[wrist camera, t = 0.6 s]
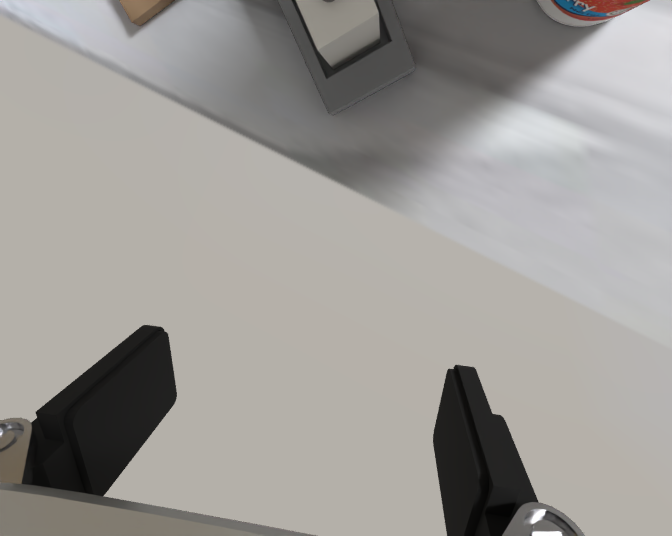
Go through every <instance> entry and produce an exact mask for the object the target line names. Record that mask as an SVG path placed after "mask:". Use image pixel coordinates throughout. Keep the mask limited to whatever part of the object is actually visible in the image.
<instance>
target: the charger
mask: <svg viewBox="0 0 672 536" xmlns="http://www.w3.org/2000/svg"><path fill="white" fill-rule="evenodd" d="M296 2H297V4H298V7H299V9H300V11H301V14H302V16H303V18H304V20H305V23H306V25H307V27H308V30H309V32H310V34H311V36H312V39H313V41H314V43H315V46H316V48H317V50H318V51H319V53H320V54H321V55H322V56H323V57H324V59H325V60H326V61H327V62H328V64H329V65H330V66H331V67H332V68H333V70H334V69H335V68H337V67H339V66H340V65H342V64H344V63H346V62H347V61H349V60H351V59H352V58H354V57H356V56H357V55H359V54H361V53H363V52H364V51H366V50H368V49H369V48H371V47H373V46H375V45H376V44H378V43H380V29H379V12H378V10H377V7H376V4H375V2H374V0H296Z"/></svg>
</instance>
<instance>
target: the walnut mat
mask: <svg viewBox="0 0 672 536" xmlns="http://www.w3.org/2000/svg"><path fill="white" fill-rule="evenodd" d="M119 1H120V3H121V4H122V6H123V8H124V10H125V11H126V13H127V15H128V17H129V18H130V20H131V22H132V23H134V24H137V25H139V26H141V25H142V24H144V23H145V22H146V21H148V20H149V19H150V18H152V17H153V16H154V15H156V14H157V13H159V12H160V11H161V10H163V9H164V8H165V7H167V6H168V5H169V4H171V3H172V2H173V1H175V0H119Z"/></svg>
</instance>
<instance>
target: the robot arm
mask: <svg viewBox="0 0 672 536" xmlns="http://www.w3.org/2000/svg"><path fill="white" fill-rule="evenodd" d="M176 397H177V392H176V385H175V378H174V371H173V364H172V358H171V351H170V344H169V337H168V334H167V332H164V329H163V328H162V327H157V326H150V325H143V326H142V327H140V328H139V329H138V330H136V331H135V332H134V333H133V334H132V335H130V336H129V337H128V338H127V339H125V340H124V341H123V342H122V343H120V344H119V345H118V346H117V347H115V348H114V349H113V350H112V351H110V352H109V353H108V354H107V355H106V356H104V357H103V358H102V359H101V360H99V361H98V362H97V363H96V364H94V365H93V366H92V367H91V368H90V369H88V370H87V371H86V372H84V373H83V374H82V375H81V376H79V377H78V378H77V379H76V380H75V381H73V382H72V383H71V384H70V385H68V386H67V387H66V388H65V389H63V390H62V391H61V392H60V393H58V394H57V395H56V396H55V397H54V398H52V399H51V400H50V401H49V402H47V403H46V404H45V405H44V406H42V407H41V408H40V409H39V410H37V412H36V415H37V418H36V419H35V420H34V421H33V422H32V423H31V422H30V421H28V420H27V419H23V418H10V419H5V420H0V536H316V535H310V534H305V533H300V532H294V531H290V530H284V529H279V528H274V527H269V526H263V525H258V524H252V523H247V522H241V521H236V520H231V519H225V518H220V517H214V516H209V515H203V514H198V513H192V512H187V511H182V510H176V509H171V508H165V507H159V506H153V505H148V504H143V503H136V502H131V501H126V500H120V499H114V498H109V497H103V496H104V494H105V493H106V492H107V491H108V490H109V488H110V487H111V486H112V484H113V483H114V482H115V480H116V479H117V478H118V477H119V475H120V474H121V473H122V471H123V470H124V469H125V467H126V466H127V465H128V464H129V462H130V461H131V460H132V458H133V457H134V456H135V454H136V453H137V452H138V451H139V449H140V448H141V447H142V445H143V444H144V443H145V441H146V440H147V439H148V437H149V436H150V435H151V434H152V432H153V431H154V430H155V428H156V427H157V426H158V425H159V423H160V422H161V421H162V419H163V418H164V417H165V415H166V414H167V413H168V412H169V410H170V409H171V408H172V406H173V405H174V403H175V401H176ZM433 444H434V451H435V458H436V464H437V471H438V478H439V484H440V491H441V498H442V504H443V511H444V518H445V524H446V531H447V536H585V535H584V534H583V532H582V531H581V530H580V529H579V527H578V526H577V525H576V524H575V523H574V522H573V521H572V520H571V519H570V518H569V517H567V516H566V515H565V514H564V513H562V512H560V511H559V510H557V509H555V508H553V507H552V506H549V505H546V504H543V503H539V502H538V500H537V497H536V495H535V493H534V490H533V488H532V485H531V483H530V480H529V478H528V475H527V473H526V471H525V468H524V466H523V463H522V461H521V458H520V456H519V454H518V451H517V448H516V446H515V444H514V441H513V439H512V436H511V434H510V432H509V429H508V426H507V424H506V422H505V420H504V418H503V417H502V416H501V415H496V414H492V412H491V409H490V406H489V404H488V401H487V398H486V396H485V393H484V390H483V388H482V385H481V382H480V380H479V377H478V374H477V371H476V369H475V368H474V367H468V366H461V365H455V367H454V369H448V371H447V374H446V379H445V383H444V388H443V392H442V397H441V402H440V406H439V411H438V415H437V420H436V424H435V429H434V434H433Z"/></svg>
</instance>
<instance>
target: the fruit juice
mask: <svg viewBox="0 0 672 536" xmlns="http://www.w3.org/2000/svg"><path fill="white" fill-rule="evenodd" d="M647 1H650V0H537V2H538V4H539V6H540V7H541V8H542V10H543V11H544V12H545V13H546V14H547V15H548V16H549V17H550V18H552V19H553V20H555V21H557V22H559V23H561V24H565V25H569V26H577V27H582V26H591V25H595V24H599V23H602V22H606V21H608V20H611V19H613V18H615V17H617V16H619V15H621V14H623V13H625V12H627V11H629V10H631V9H633V8H635V7H637V6H639V5H641V4H643V3H645V2H647Z"/></svg>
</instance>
